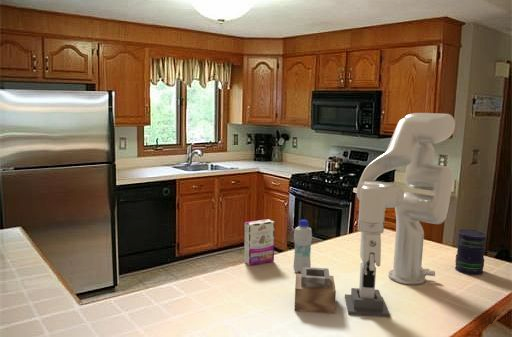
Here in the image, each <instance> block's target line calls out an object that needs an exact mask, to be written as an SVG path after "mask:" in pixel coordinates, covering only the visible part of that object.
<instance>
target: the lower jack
mask: <svg viewBox="0 0 512 337" xmlns="http://www.w3.org/2000/svg"><path fill="white" fill-rule="evenodd" d="M350 291H351V292H350V294H346V293H345V294H344V301H345V305H346V309H347V313H348V315H353V316H363V317H365V316H366V317H377V318H378V317H380V318H390V317H391V314H390V311H389V308H388V306H387V304H386V302H385V299H384V297H383V296H382V295H381V292H380V290H379V289H375V293H374V299H370V298H360V295H359V288H355V287H354V288H353V287H351V290H350Z"/></svg>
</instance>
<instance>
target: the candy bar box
mask: <svg viewBox="0 0 512 337" xmlns="http://www.w3.org/2000/svg"><path fill="white" fill-rule="evenodd" d="M243 245H244V254H243V255H244V259H243V260H244V263H245V264H247V265H248V266H255V265H260V264H261V265H262V264H267V263H272V262H274V261H275V221H274V220H271V219H269V218H268V219H267V218H266V219H260V220H253V221H245V222H244V244H243Z"/></svg>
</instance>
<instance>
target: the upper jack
mask: <svg viewBox="0 0 512 337" xmlns="http://www.w3.org/2000/svg"><path fill="white" fill-rule="evenodd" d="M329 270H330V269H329V268H327V267H326V268H325V267H302V272H300V273H295V284H294V285H295V288H294V309H293V310H294V311H295V312H308V313H309V312H311V313H320V314H321V313H324V314H325V313H326V314H335V313H336V299H337V298H336V297H337V296H336V295H337V294H336V293H337V289H336V284H335V279H334V275H330V271H329Z"/></svg>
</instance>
